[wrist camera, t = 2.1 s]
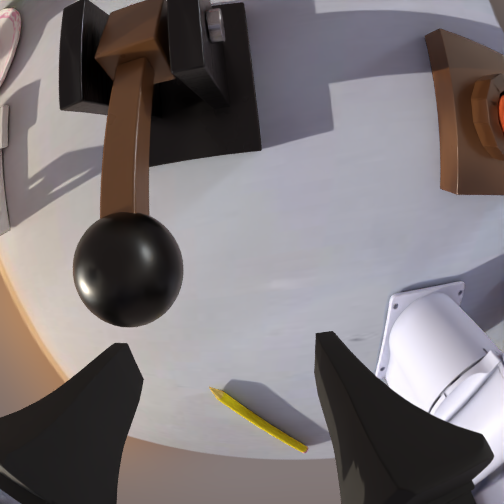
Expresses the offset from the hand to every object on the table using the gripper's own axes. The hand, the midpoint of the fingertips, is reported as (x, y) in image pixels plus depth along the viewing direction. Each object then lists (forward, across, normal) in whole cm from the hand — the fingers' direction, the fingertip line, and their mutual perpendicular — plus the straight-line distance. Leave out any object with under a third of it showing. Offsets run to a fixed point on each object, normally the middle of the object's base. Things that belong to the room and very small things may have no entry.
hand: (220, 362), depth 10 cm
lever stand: (+10, +2, -12) cm, 16 cm away
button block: (+10, -20, -10) cm, 25 cm away
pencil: (+9, -1, +18) cm, 21 cm away
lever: (+1, +2, -8) cm, 8 cm away
